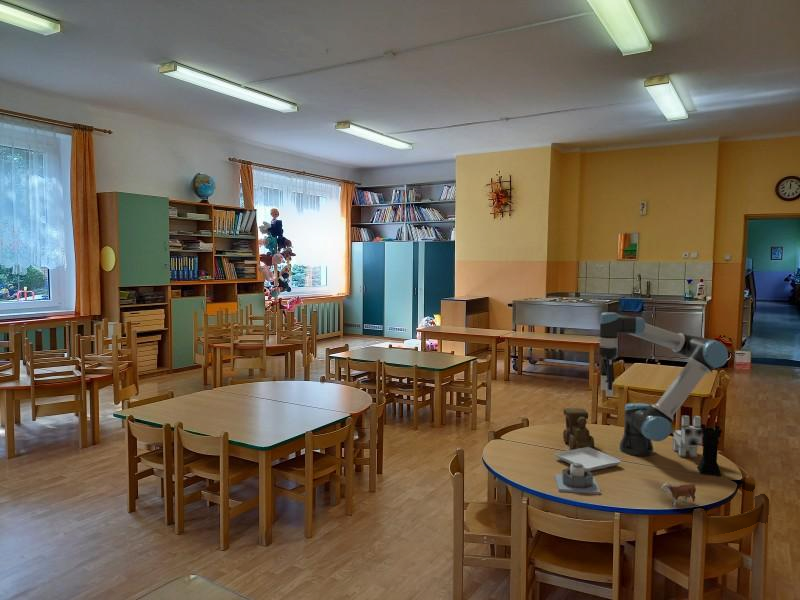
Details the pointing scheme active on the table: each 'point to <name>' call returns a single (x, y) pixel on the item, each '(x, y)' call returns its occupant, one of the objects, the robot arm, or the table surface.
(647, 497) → the table surface
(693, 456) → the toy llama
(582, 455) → the salad plate
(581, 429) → the wooden toy train
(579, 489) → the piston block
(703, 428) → the chess piece
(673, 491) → the bull figurine
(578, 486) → the ring
